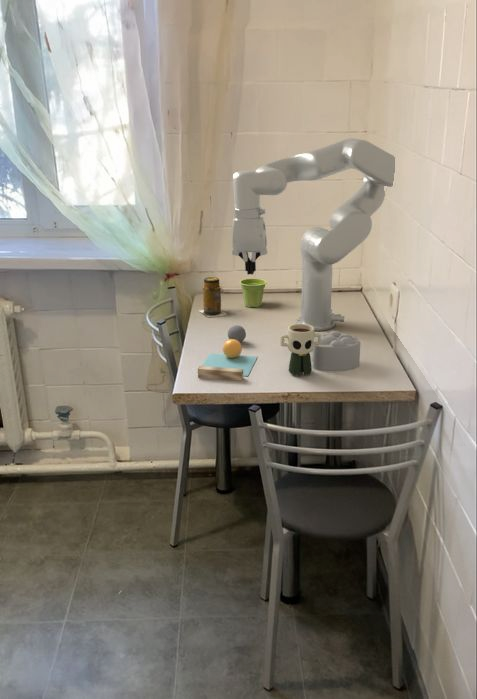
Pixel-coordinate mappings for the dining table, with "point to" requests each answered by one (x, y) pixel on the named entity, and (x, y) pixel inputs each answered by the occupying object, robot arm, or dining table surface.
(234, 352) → the orange ball
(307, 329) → the character mug
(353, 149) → the robot arm
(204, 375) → the wall
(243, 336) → the gray ball
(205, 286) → the condiment
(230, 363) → the teal mark
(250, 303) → the plant pot
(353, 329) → the dining table surface
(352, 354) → the lumpy-topped squat cylinder
